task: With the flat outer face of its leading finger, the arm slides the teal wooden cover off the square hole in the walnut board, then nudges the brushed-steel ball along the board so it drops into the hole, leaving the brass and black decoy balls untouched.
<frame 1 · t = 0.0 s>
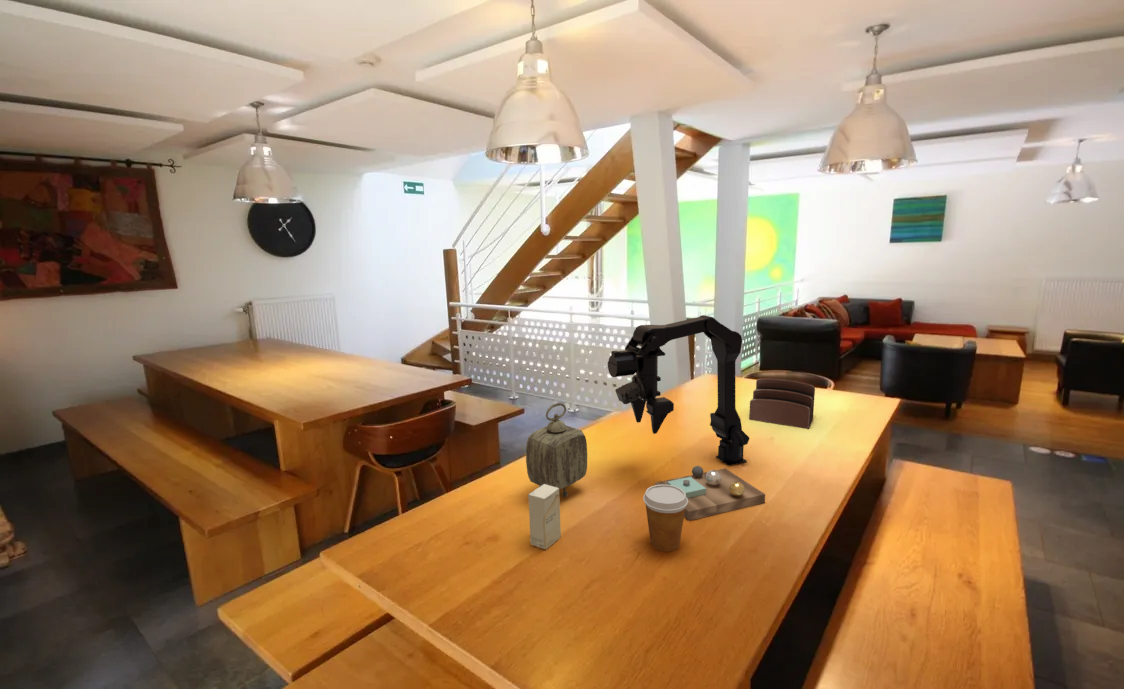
hand: (646, 427, 145), 15 cm above the table, tool pointing down, fingers open, 9 cm apart
skincare box: (545, 541, 119), on the table
steel ball: (713, 477, 136), point 4 cm above the table, touching board
black decoy: (697, 471, 141), point 4 cm above the table, touching board
letter holder: (780, 421, 188), on the table
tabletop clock: (559, 495, 139), on the table
disposable coffee cup: (664, 544, 116), on the table
cover: (686, 485, 134), point 4 cm above the table, slide at 0.0 cm
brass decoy: (736, 489, 131), point 4 cm above the table, touching board
board: (708, 496, 136), on the table
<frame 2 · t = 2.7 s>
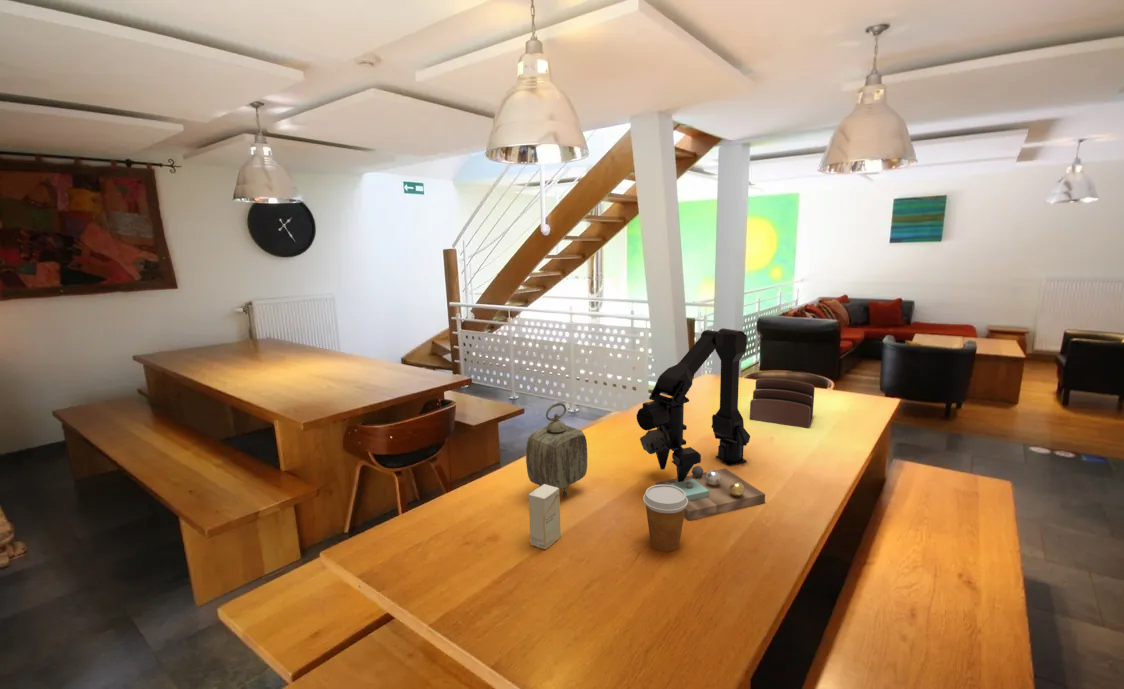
hand: (671, 476, 141), 3 cm above the table, tool pointing down, fingers open, 9 cm apart
cover: (689, 488, 133), point 4 cm above the table, slide at 1.3 cm, touching gripper
everything else where it was.
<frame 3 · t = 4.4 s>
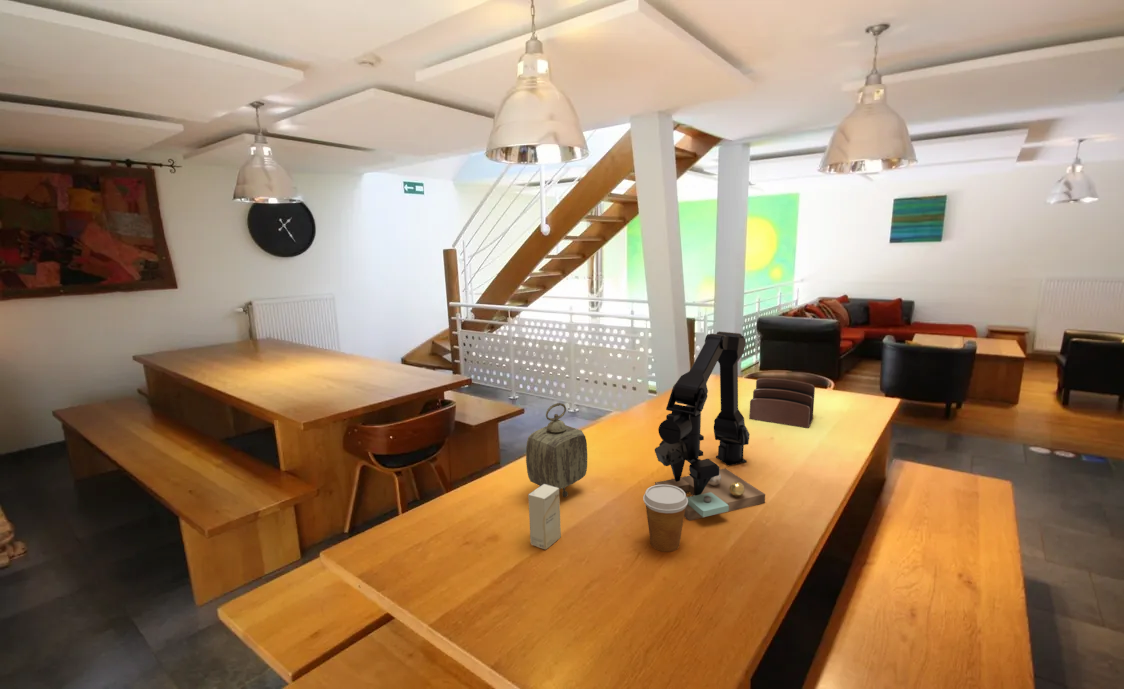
hand: (687, 488, 134), 3 cm above the table, tool pointing down, fingers open, 9 cm apart
cover: (707, 502, 126), point 4 cm above the table, slide at 9.0 cm, touching gripper
everything else where it was.
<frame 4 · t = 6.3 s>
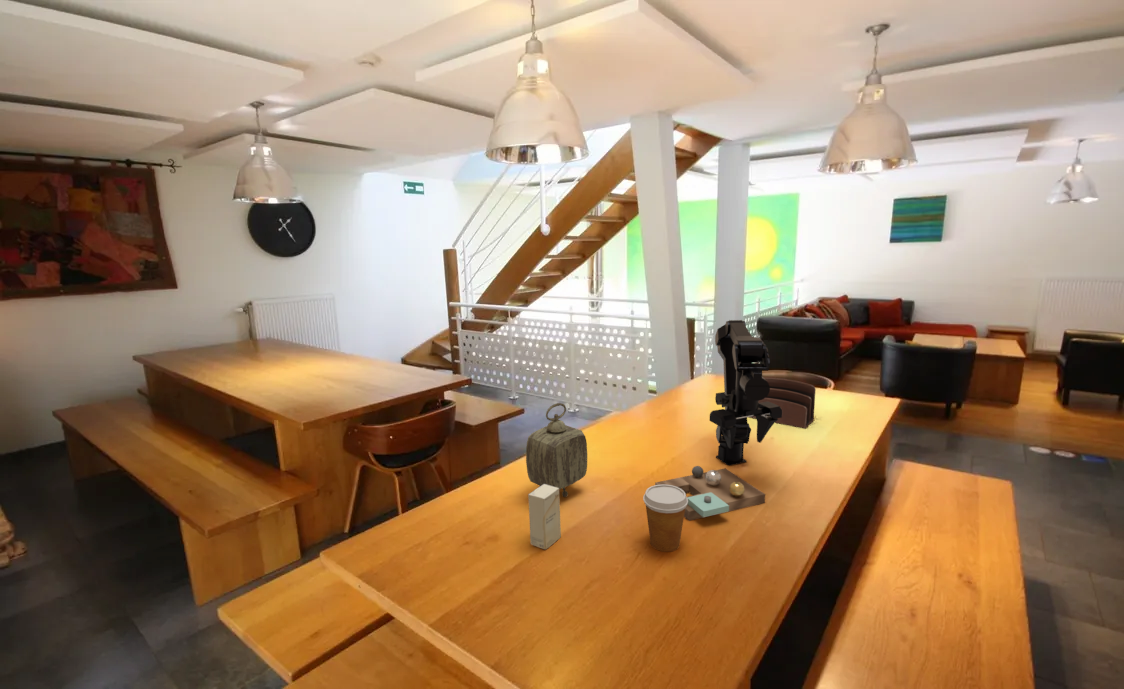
hand: (744, 445, 138), 12 cm above the table, tool pointing down, fingers open, 9 cm apart
cover: (707, 502, 126), point 4 cm above the table, slide at 9.1 cm
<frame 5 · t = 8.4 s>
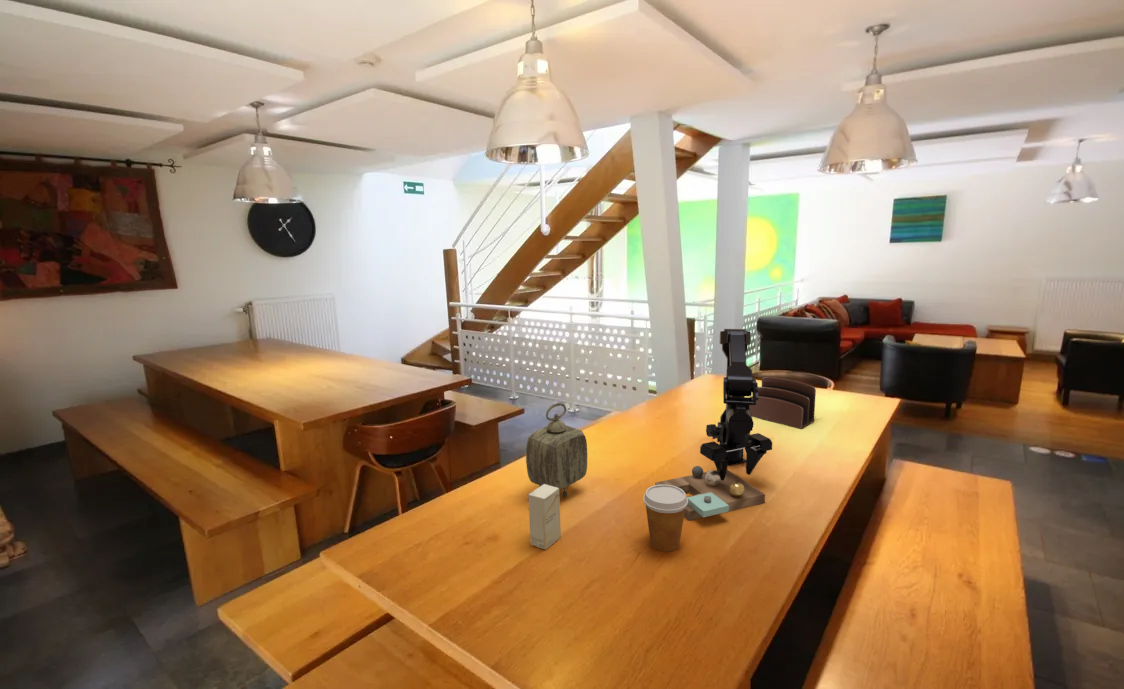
hand: (735, 477, 139), 3 cm above the table, tool pointing down, fingers open, 8 cm apart
steel ball: (712, 478, 136), point 4 cm above the table, touching board, gripper
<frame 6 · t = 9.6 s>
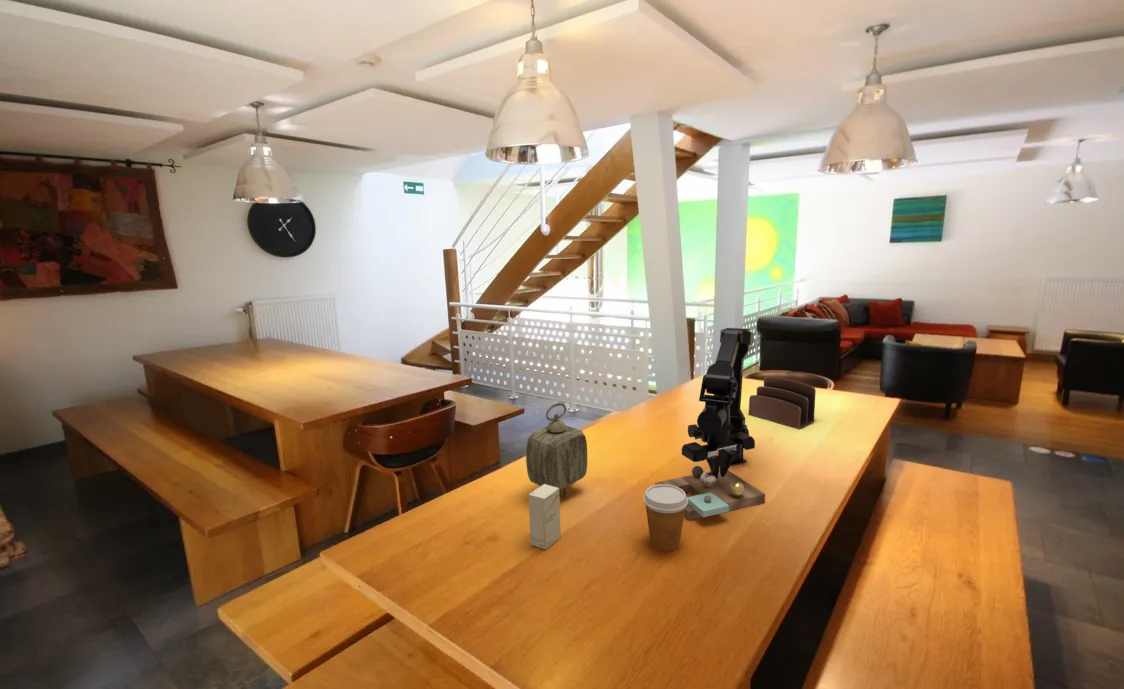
hand: (718, 477, 137), 4 cm above the table, tool pointing down, fingers closed
steel ball: (708, 479, 136), point 4 cm above the table, tilted 46°, touching board, gripper
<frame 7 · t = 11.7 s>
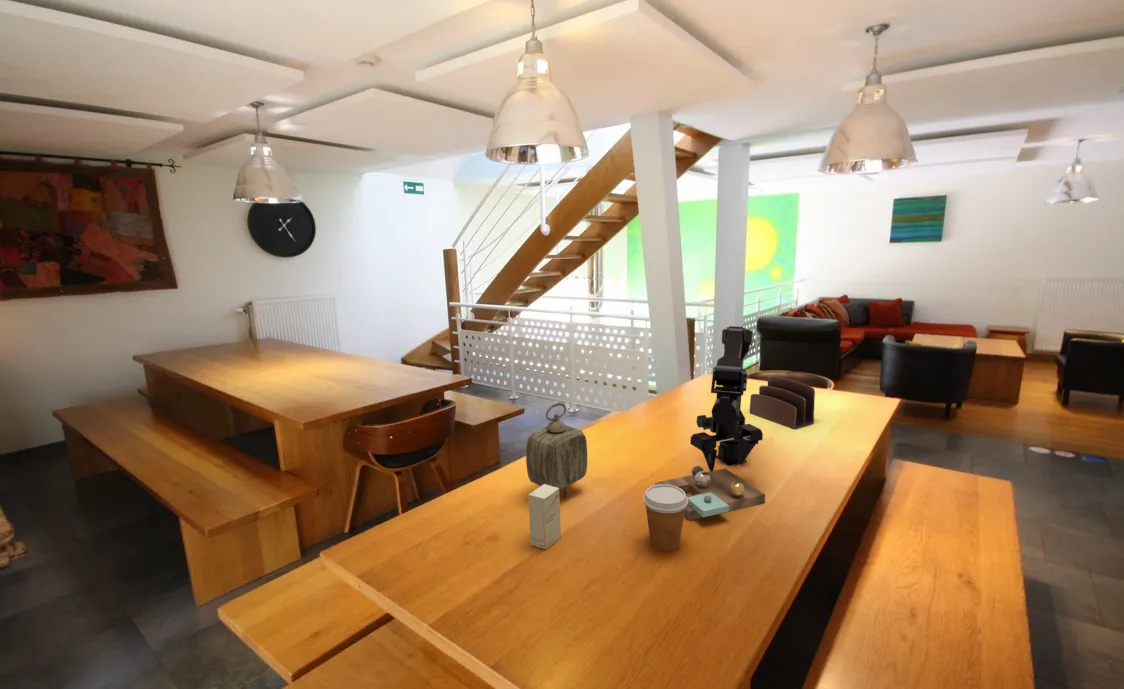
hand: (725, 467, 139), 6 cm above the table, tool pointing down, fingers open, 9 cm apart
steel ball: (702, 479, 136), point 4 cm above the table, tilted 84°, touching board
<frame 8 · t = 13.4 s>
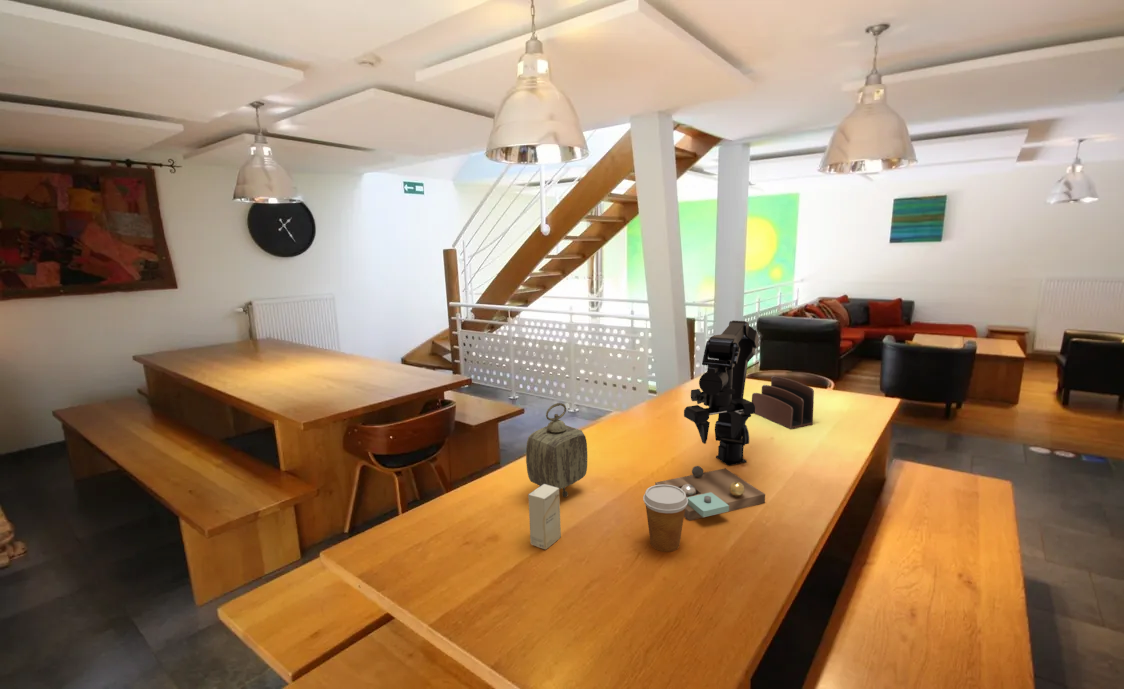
hand: (718, 440, 141), 12 cm above the table, tool pointing down, fingers open, 9 cm apart
steel ball: (688, 492, 134), point 2 cm above the table, tilted 153°
at the end: steel ball 0.4 cm from the target spot, point 2.0 cm above the table; cover slide at 9.1 cm; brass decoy moved 0.0 cm from its start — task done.
